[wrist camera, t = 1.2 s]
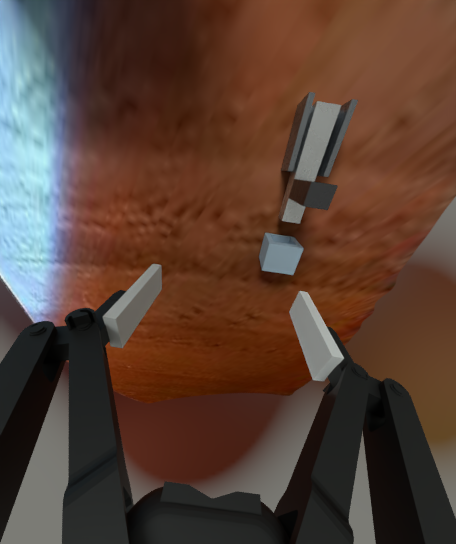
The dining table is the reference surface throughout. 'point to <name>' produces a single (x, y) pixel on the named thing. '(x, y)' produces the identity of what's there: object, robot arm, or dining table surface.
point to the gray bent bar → (310, 166)
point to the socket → (280, 253)
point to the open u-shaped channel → (334, 140)
